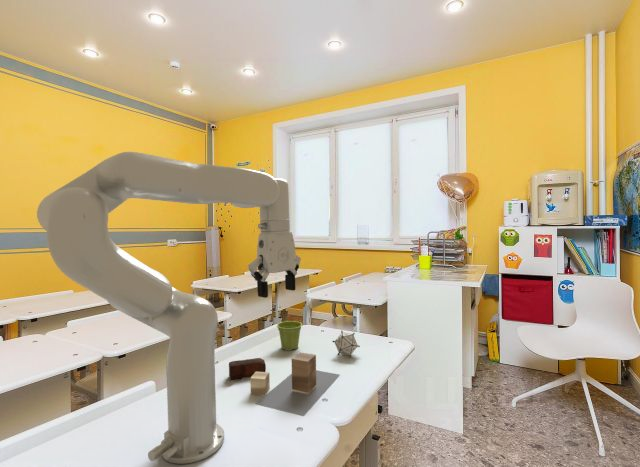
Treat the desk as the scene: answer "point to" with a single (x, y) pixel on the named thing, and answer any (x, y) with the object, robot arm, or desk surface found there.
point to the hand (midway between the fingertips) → (277, 293)
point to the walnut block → (304, 373)
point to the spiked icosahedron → (346, 343)
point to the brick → (245, 368)
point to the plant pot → (289, 334)
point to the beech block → (260, 383)
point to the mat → (297, 394)
